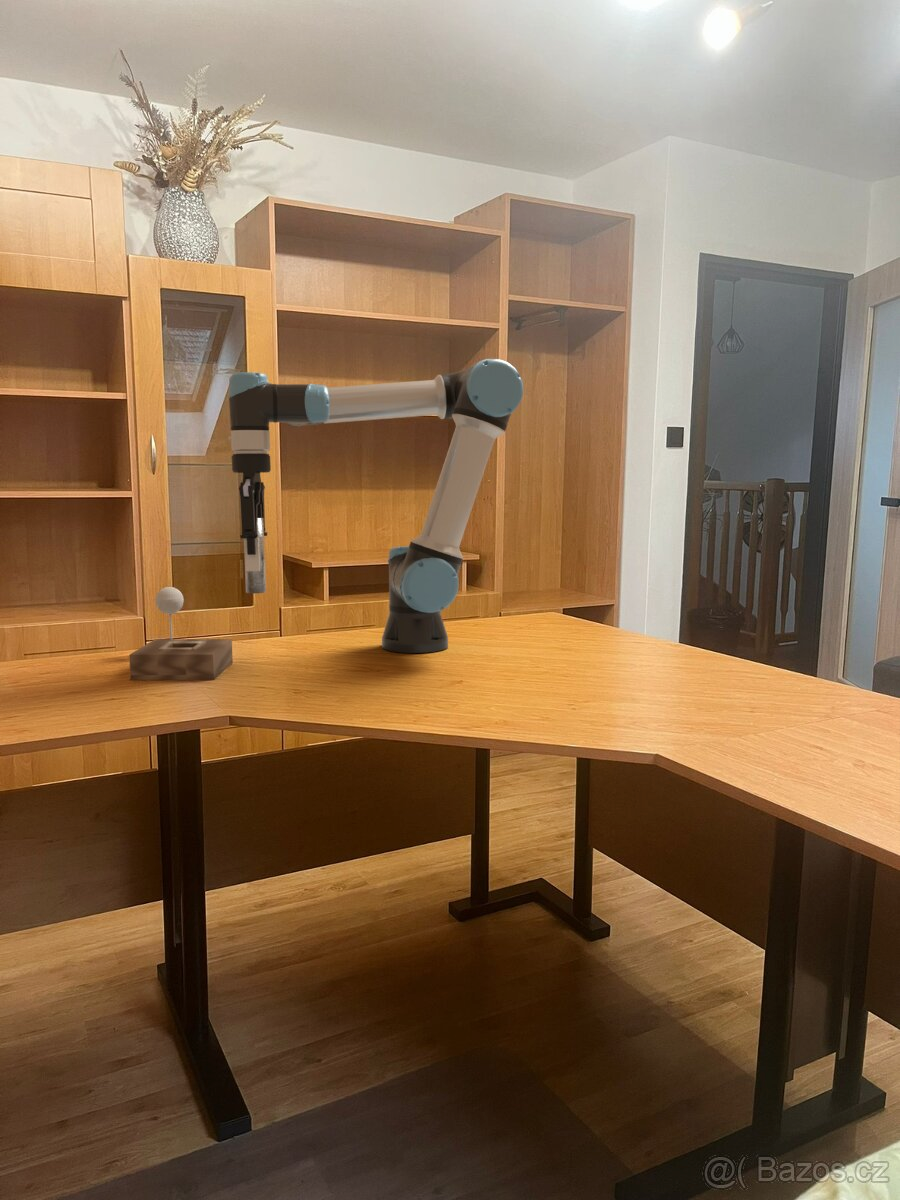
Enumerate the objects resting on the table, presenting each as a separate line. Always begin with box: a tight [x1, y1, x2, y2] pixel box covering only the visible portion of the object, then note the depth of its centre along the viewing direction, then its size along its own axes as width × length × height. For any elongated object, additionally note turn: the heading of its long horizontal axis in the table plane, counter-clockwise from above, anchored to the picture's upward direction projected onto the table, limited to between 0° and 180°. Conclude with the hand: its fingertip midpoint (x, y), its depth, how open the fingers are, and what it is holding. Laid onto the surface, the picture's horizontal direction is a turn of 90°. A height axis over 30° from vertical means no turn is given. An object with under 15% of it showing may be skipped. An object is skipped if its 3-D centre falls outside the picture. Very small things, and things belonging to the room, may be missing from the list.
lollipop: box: [154, 586, 185, 639], centre depth 196 cm, size 6×6×15 cm
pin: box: [243, 518, 267, 594], centre depth 182 cm, size 4×4×15 cm
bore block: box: [128, 638, 234, 681], centre depth 181 cm, size 16×16×5 cm
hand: (255, 569), depth 183 cm, fingers closed on pin, 4 cm apart
